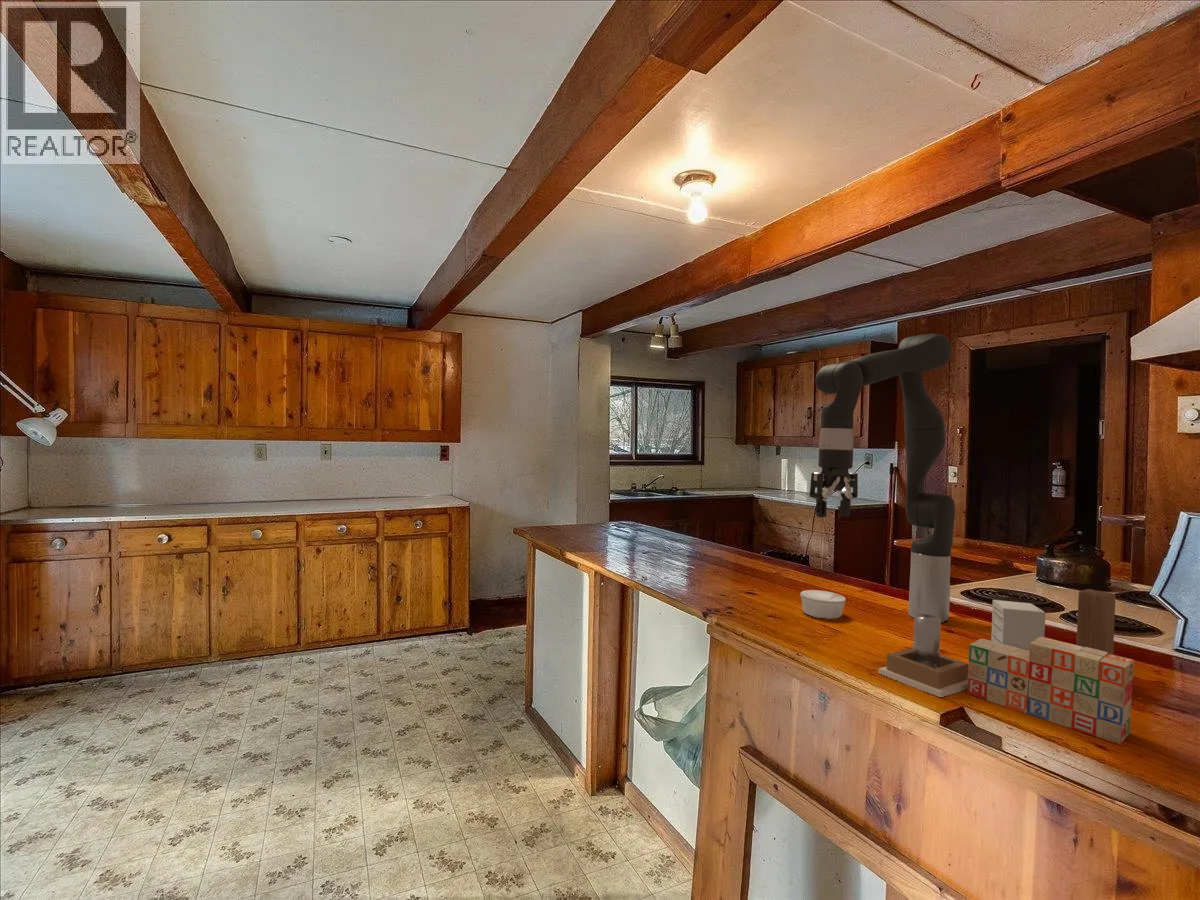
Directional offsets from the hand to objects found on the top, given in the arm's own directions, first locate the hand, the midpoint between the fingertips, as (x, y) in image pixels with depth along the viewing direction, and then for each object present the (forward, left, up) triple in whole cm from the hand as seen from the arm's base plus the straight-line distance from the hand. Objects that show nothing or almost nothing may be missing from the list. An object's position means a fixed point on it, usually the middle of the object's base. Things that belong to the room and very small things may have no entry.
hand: (833, 516), depth 134 cm
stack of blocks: (0, +43, -28) cm, 52 cm away
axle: (+5, +26, -27) cm, 38 cm away
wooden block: (-26, +42, -28) cm, 57 cm away
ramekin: (-13, -12, -28) cm, 34 cm away
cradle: (+5, +26, -28) cm, 39 cm away
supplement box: (-21, +30, -28) cm, 46 cm away
